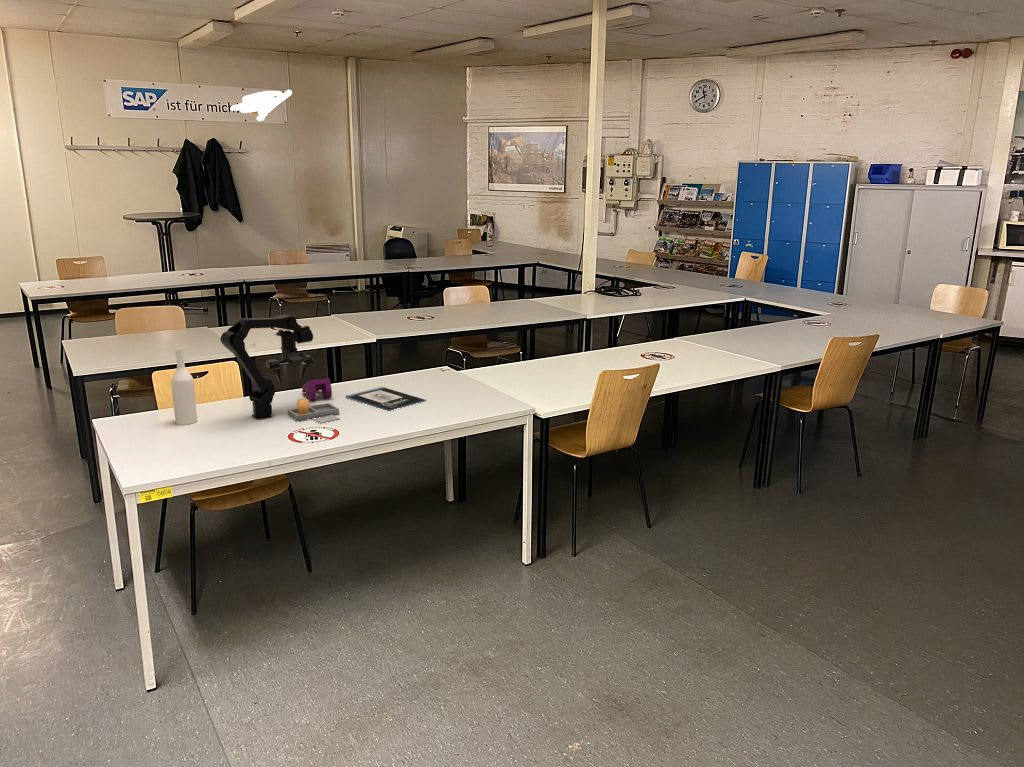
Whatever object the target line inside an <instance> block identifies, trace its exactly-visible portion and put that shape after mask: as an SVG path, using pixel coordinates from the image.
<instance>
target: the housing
mask: <svg viewBox="0 0 1024 767" xmlns="http://www.w3.org/2000/svg"><path fill="white" fill-rule="evenodd" d="M297 412H298V410H297V407H296V408H292V409H291V408H290V409H287V416H288V415H289V416H290V417H289V416H288V417H289V418H291V417H292V418H293V419H292V418H291V419H292V420H294V419H295V420H296V421H295V420H294V421H295V422H297V421H300V422H302V421H301V420H306V421H308V420H307V419H311V420H313V419H312V418H319V417H325V416H329V415H334V416H337V415H338V414H339V415H340V408H339V407H337V406H336V405H333V404H332V403H329V402H327V403H321V404H315V405H309V412H310V413H308V414H302V415H297ZM339 415H338V416H339Z"/></svg>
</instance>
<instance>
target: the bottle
mask: <svg viewBox="0 0 1024 767" xmlns="http://www.w3.org/2000/svg"><path fill="white" fill-rule="evenodd" d="M184 356H185V355H184V349H183V347H175V357H176V369H175V371H174V373H173V375H172V377H171V379H170V380H171V382H170V383H171V392H172V401H173V411H174V421H175V423H176V425H181V426H182V425H183V426H186V425H192V424H195V423H197V422H198V413H197V411H198V410H197V404H196V402H197V401H196V392H195V383H194V382H195V381H194V377H193V376H192V374H191V373H190V372H189V371H188V369H187V368H186V365H185V358H184Z"/></svg>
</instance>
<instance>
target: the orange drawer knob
mask: <svg viewBox="0 0 1024 767" xmlns="http://www.w3.org/2000/svg"><path fill="white" fill-rule="evenodd" d="M309 404H310V403H309V401H308V399H307V398H299V399H297V400H296V408H297V410H298V412H297V415H302V414H308V413H310V412H309V406H310V405H309Z"/></svg>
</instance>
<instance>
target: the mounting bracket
mask: <svg viewBox="0 0 1024 767" xmlns="http://www.w3.org/2000/svg"><path fill="white" fill-rule="evenodd" d="M302 389H303V390H302ZM332 390H333V389H332V382H331V378H330V377H328V378H320V379H319V378H318V379H311V380H308V381H306V382H305V384H303V385H302V386H301V392H302V393H304V392H306V393H305V395H306V399H308V400H309V401H308V402H314V400H315V401H316V400H317V399H316V398H317V392H319V391H321V395H322V398H323V397H324V398H325V399H324V398H323V399H324V400H329V399H330V400H331V399H332V396H333V391H332Z"/></svg>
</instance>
